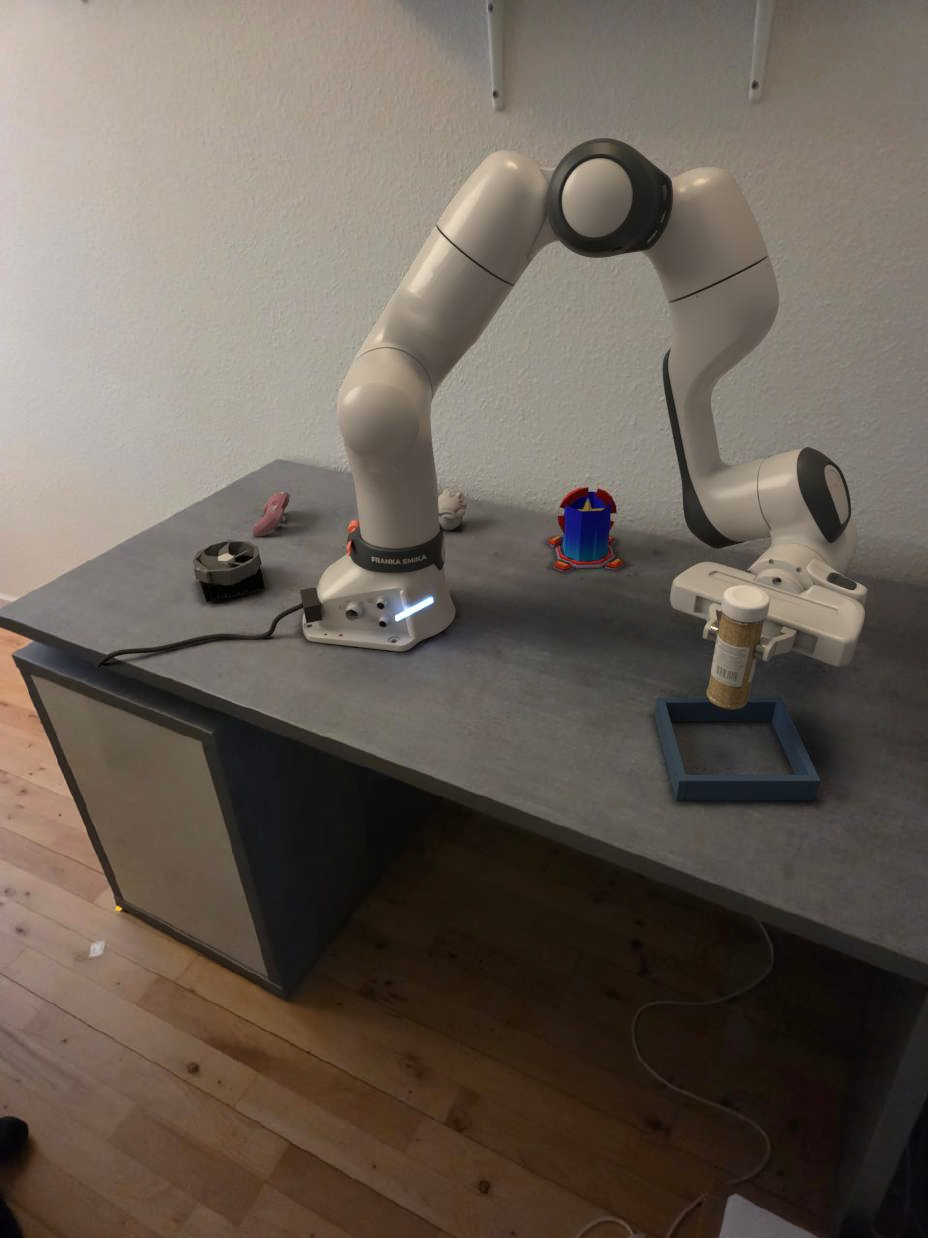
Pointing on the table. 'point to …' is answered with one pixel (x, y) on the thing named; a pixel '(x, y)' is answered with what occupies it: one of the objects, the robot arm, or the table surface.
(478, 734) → the table surface
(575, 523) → the fantasy tower
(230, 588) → the cpu cooler
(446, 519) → the frog figurine
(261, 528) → the pink lumpy piece
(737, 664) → the sprinkles bottle
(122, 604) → the table surface
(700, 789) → the square frame
